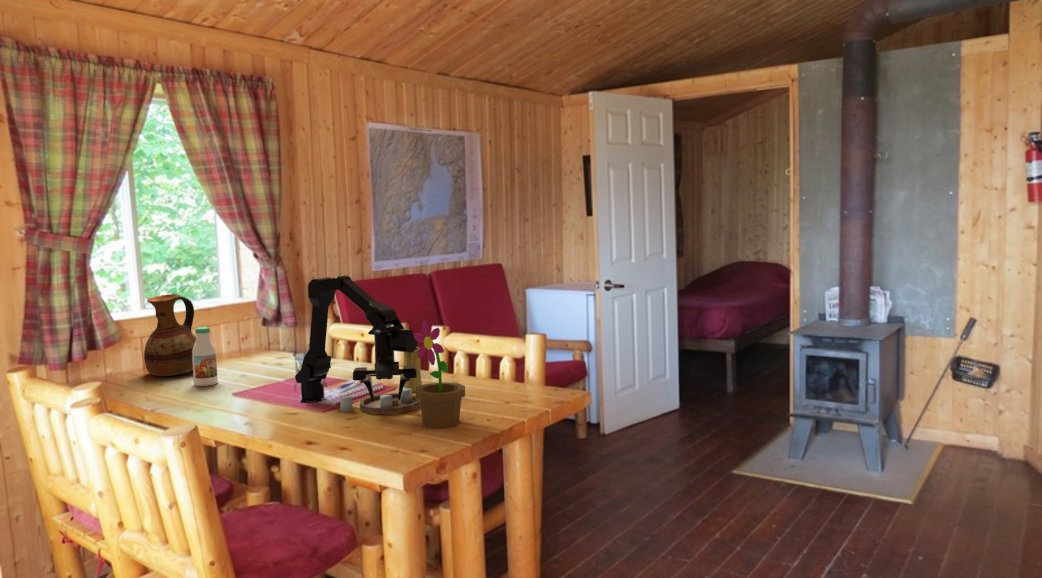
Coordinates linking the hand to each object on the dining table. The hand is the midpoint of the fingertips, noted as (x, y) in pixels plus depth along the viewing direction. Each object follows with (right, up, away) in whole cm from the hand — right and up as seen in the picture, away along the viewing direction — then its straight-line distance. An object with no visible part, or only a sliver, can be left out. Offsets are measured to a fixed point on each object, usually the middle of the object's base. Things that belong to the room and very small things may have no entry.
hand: (386, 400), depth 232 cm
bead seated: (+5, -2, +8) cm, 10 cm away
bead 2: (0, -3, 0) cm, 3 cm away
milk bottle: (-70, 0, +38) cm, 80 cm away
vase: (+5, 0, +25) cm, 26 cm away
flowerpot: (+18, -5, -13) cm, 23 cm away
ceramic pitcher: (-89, +2, +56) cm, 105 cm away
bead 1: (-12, -3, +2) cm, 13 cm away
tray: (0, -3, +6) cm, 6 cm away
